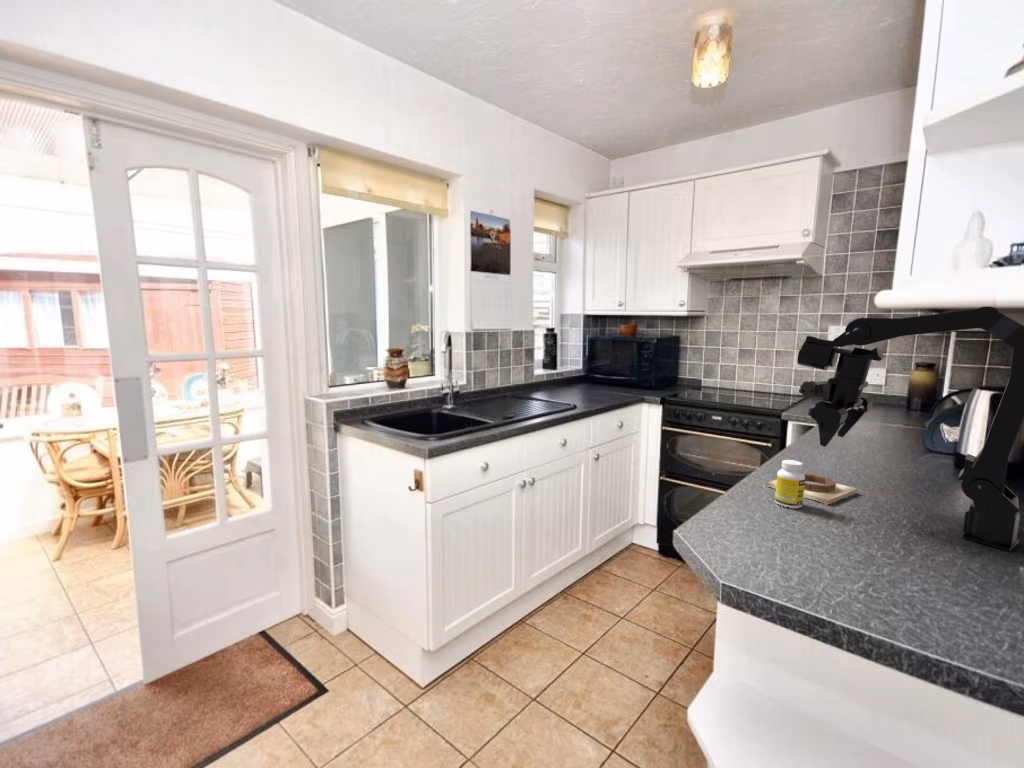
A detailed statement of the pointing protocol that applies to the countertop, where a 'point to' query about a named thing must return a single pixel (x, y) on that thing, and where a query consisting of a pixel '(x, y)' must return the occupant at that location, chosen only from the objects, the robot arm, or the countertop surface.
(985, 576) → the countertop surface
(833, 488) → the socket board
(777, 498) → the supplement bottle
